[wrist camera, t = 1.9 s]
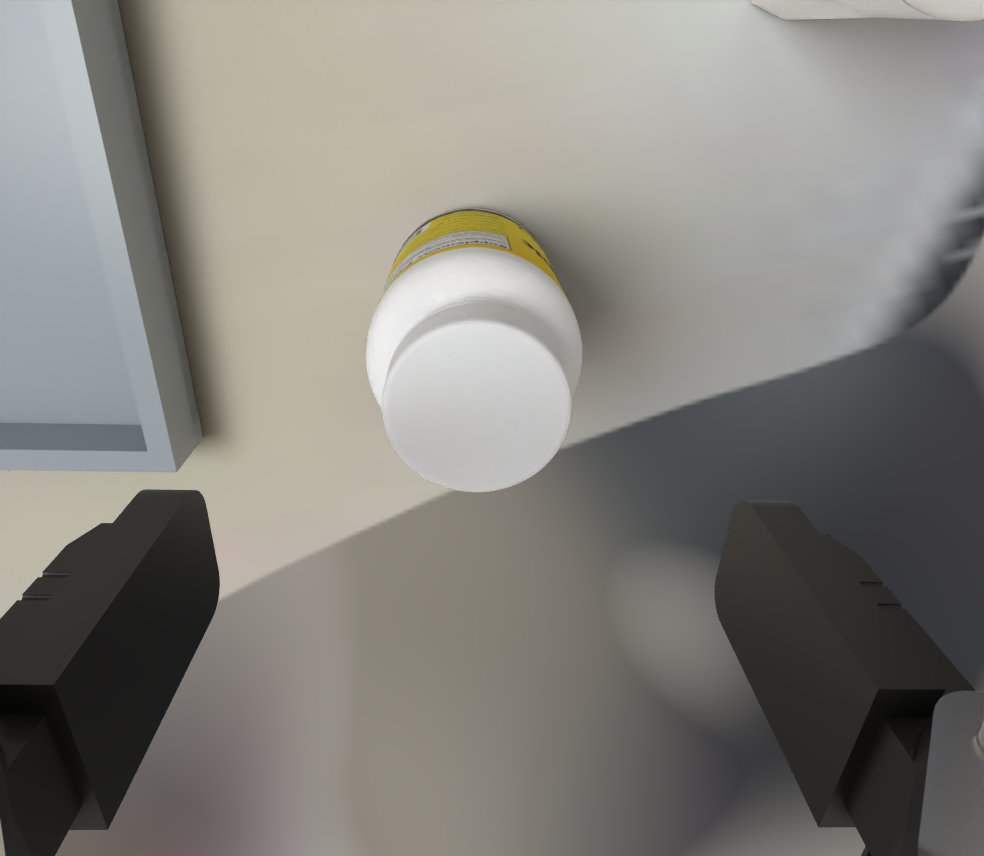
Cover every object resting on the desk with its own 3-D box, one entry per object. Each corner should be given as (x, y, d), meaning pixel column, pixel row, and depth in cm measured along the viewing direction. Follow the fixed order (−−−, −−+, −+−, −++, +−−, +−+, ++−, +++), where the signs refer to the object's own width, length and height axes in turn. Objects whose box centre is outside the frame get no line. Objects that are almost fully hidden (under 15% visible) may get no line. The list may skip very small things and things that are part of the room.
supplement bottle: (558, 350, 23) (611, 507, 15) (408, 369, 23) (373, 536, 15) (544, 192, 21) (599, 268, 12) (377, 215, 21) (312, 307, 12)
